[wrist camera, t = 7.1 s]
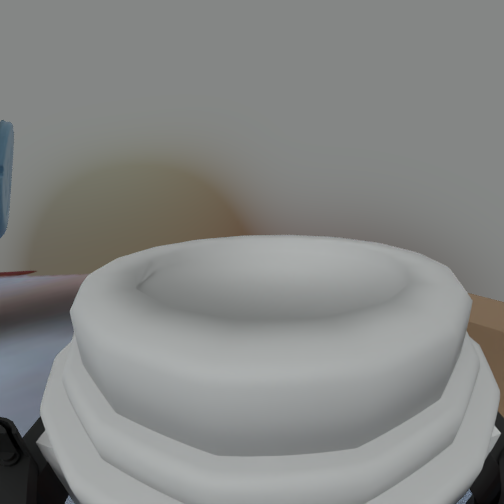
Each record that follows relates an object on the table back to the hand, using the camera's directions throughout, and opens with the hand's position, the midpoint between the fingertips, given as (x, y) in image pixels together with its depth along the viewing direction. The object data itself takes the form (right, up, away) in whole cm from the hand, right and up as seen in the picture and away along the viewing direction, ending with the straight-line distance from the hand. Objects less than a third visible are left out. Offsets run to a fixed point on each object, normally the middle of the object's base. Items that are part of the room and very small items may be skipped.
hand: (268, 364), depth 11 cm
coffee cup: (0, -8, -3) cm, 9 cm away
